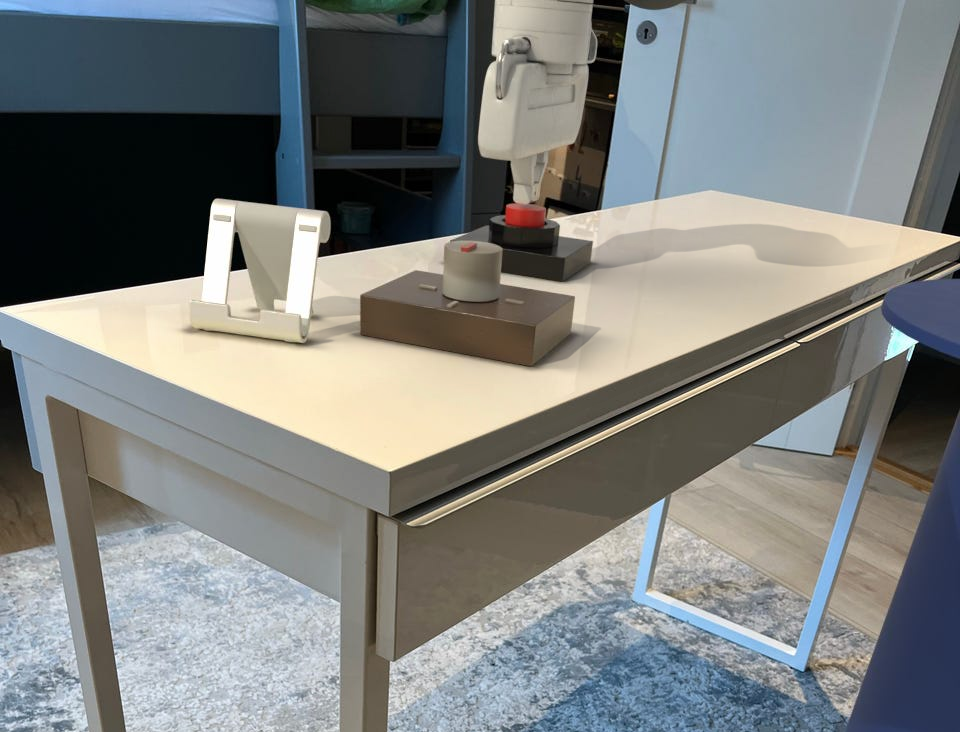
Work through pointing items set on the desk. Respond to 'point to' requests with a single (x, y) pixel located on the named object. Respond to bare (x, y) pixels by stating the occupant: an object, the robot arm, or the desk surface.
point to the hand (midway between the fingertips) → (526, 202)
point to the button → (525, 214)
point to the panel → (467, 319)
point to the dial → (472, 271)
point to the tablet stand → (262, 268)
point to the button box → (534, 248)
